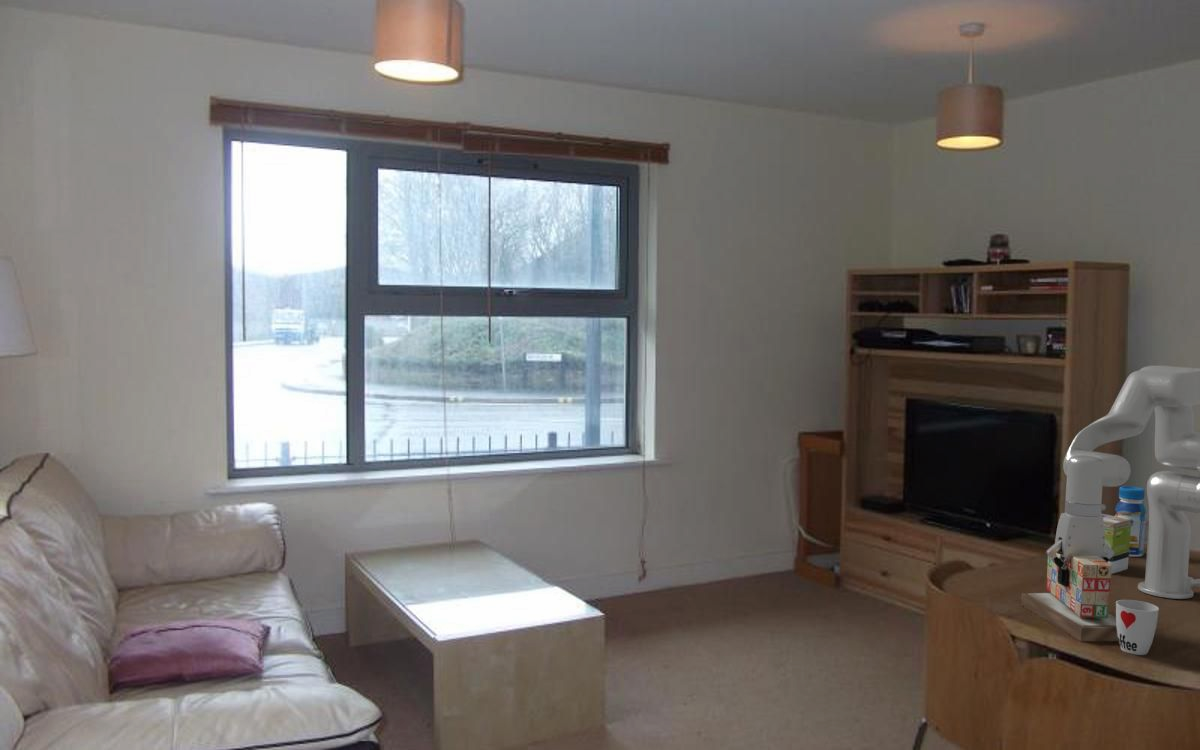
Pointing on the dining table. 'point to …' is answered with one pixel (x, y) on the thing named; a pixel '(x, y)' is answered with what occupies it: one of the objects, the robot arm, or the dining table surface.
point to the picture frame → (1070, 618)
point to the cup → (1136, 625)
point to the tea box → (1117, 541)
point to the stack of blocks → (1083, 585)
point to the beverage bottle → (1133, 516)
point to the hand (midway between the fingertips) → (1078, 584)
